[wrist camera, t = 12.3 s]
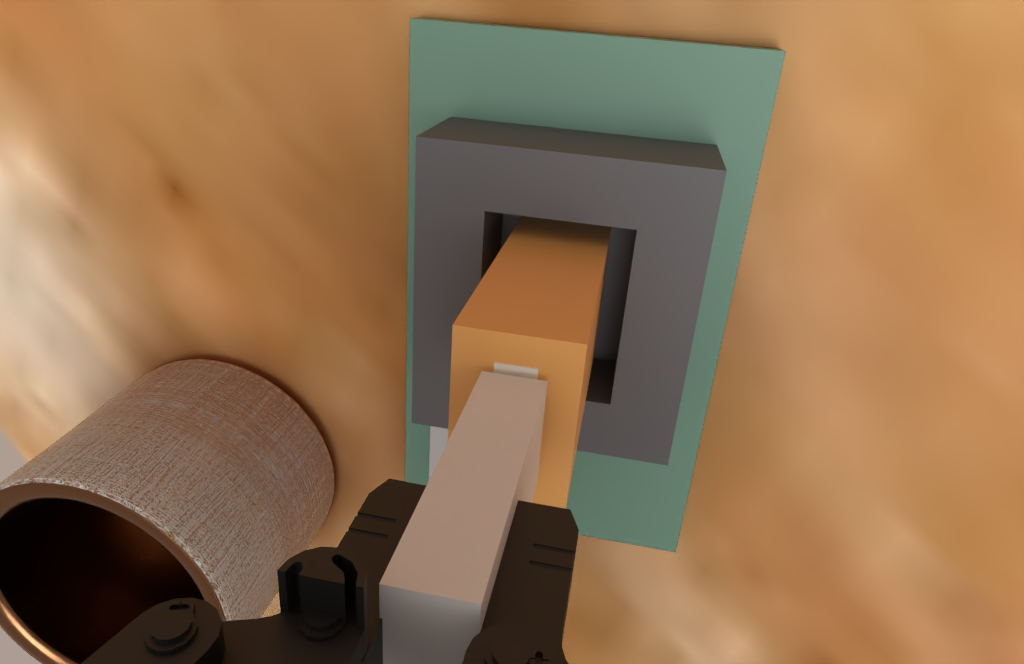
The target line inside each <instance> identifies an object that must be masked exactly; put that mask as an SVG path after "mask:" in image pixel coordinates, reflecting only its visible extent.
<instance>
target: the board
mask: <svg viewBox="0 0 1024 664" xmlns="http://www.w3.org/2000/svg"><path fill="white" fill-rule="evenodd" d="M785 52H786V51H784V50H781V49H775V48H764V47H752V46H741V45H729V44H718V43H706V42H695V41H683V40H672V39H661V38H649V37H638V36H626V35H615V34H603V33H592V32H580V31H569V30H557V29H546V28H535V27H523V26H512V25H500V24H489V23H477V22H466V21H454V20H443V19H431V18H410V69H409V165H408V261H407V357H406V453H405V482H410V483H416V484H421V485H427V484H428V482H429V479H430V477H431V475H432V473H433V471H434V469H435V467H436V465H437V463H438V461H439V459H440V457H441V455H442V453H443V450H444V448H445V446H446V444H447V442H448V423H449V399H450V375H451V351H452V327H453V324H454V322H455V320H456V319H457V317H458V316H459V314H460V313H461V311H462V309H463V308H464V306H465V305H466V303H467V302H468V300H469V298H470V297H471V295H472V294H473V292H474V291H475V289H476V288H477V286H478V284H479V283H480V281H481V280H482V278H483V277H484V275H485V273H486V272H487V270H488V269H489V267H490V266H491V264H492V262H493V261H494V259H495V258H496V256H497V255H498V253H499V251H500V250H501V248H502V247H503V245H504V244H505V242H506V240H507V239H508V237H509V236H510V234H511V233H512V231H513V230H514V228H515V226H516V225H517V223H518V222H519V220H520V219H521V217H522V216H528V217H536V218H544V219H552V220H560V221H568V222H576V223H584V224H593V225H601V226H609V227H612V232H611V239H610V247H609V254H608V261H607V269H606V276H605V283H604V291H603V298H602V305H601V312H600V320H599V327H598V334H597V341H596V346H595V352H594V357H593V363H592V368H591V374H590V379H589V385H588V390H587V396H586V401H585V407H584V412H583V418H582V423H581V429H580V434H579V440H578V445H577V451H576V456H575V462H574V467H573V473H572V478H571V484H570V489H569V495H568V500H567V506H566V509H570V510H571V512H572V514H573V517H574V519H575V522H576V524H577V527H578V529H579V532H578V535H584V536H589V537H595V538H600V539H605V540H611V541H616V542H622V543H627V544H633V545H638V546H644V547H649V548H655V549H660V550H666V551H671V552H676V548H677V543H678V538H679V534H680V529H681V525H682V520H683V516H684V511H685V507H686V502H687V498H688V493H689V488H690V484H691V479H692V475H693V470H694V466H695V461H696V457H697V452H698V448H699V443H700V438H701V434H702V429H703V425H704V420H705V416H706V411H707V407H708V402H709V398H710V393H711V388H712V384H713V379H714V375H715V370H716V366H717V361H718V357H719V352H720V347H721V343H722V338H723V334H724V329H725V325H726V320H727V316H728V311H729V307H730V302H731V297H732V293H733V288H734V284H735V279H736V275H737V270H738V266H739V261H740V257H741V252H742V247H743V243H744V238H745V234H746V229H747V225H748V220H749V216H750V211H751V207H752V202H753V197H754V193H755V188H756V184H757V179H758V175H759V170H760V166H761V161H762V157H763V152H764V147H765V143H766V138H767V134H768V129H769V125H770V120H771V116H772V111H773V106H774V102H775V97H776V93H777V88H778V84H779V79H780V75H781V70H782V66H783V61H784V56H785Z"/></svg>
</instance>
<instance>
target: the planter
mask: <svg viewBox="0 0 1024 664" xmlns="http://www.w3.org/2000/svg"><path fill="white" fill-rule="evenodd" d="M334 488H335V478H334V468H333V464H332V459H331V456H330V453H329V450H328V448H327V445H326V443H325V441H324V439H323V437H322V435H321V433H320V432H319V430H318V428H317V427H316V425H315V424H314V422H313V421H312V420H311V418H310V417H309V416H308V414H307V413H306V412H305V411H304V410H303V408H302V407H301V406H300V405H299V404H298V403H297V402H296V401H295V400H294V399H293V398H291V397H290V396H289V395H288V394H287V393H286V392H284V391H283V390H282V389H280V388H279V387H278V386H276V385H275V384H273V383H272V382H270V381H269V380H267V379H265V378H264V377H262V376H260V375H258V374H256V373H254V372H252V371H250V370H247V369H245V368H242V367H240V366H237V365H234V364H230V363H226V362H222V361H217V360H210V359H187V360H180V361H175V362H171V363H168V364H165V365H163V366H161V367H159V368H157V369H155V370H153V371H150V372H148V373H147V374H145V375H143V376H142V377H140V378H139V379H138V380H136V381H135V382H134V383H132V384H131V385H130V386H128V387H127V388H126V389H124V390H123V391H122V392H120V393H119V394H118V395H117V396H115V397H114V398H113V399H111V400H110V401H109V402H107V403H106V404H105V405H103V406H102V407H101V408H99V409H98V410H97V411H96V412H94V413H93V414H92V415H90V416H89V417H88V418H86V419H85V420H84V421H83V422H81V423H80V424H79V425H77V426H76V427H75V428H73V429H72V430H71V431H69V432H68V433H67V434H65V435H64V436H63V437H62V438H60V439H59V440H58V441H56V442H55V443H54V444H52V445H51V446H50V447H48V448H47V449H46V450H44V451H43V452H42V453H40V454H39V455H38V456H36V457H35V458H34V459H32V460H31V461H29V462H28V463H27V464H25V465H24V466H23V467H21V468H20V469H19V470H17V471H16V472H15V473H13V474H12V475H11V476H9V477H8V478H6V479H5V480H4V481H3V482H1V483H0V627H1V628H2V629H3V630H4V631H5V632H6V633H7V634H8V635H9V636H10V637H11V638H12V639H13V640H14V641H15V642H16V643H17V644H18V645H19V646H20V647H21V648H22V649H24V650H25V651H26V652H27V653H28V654H30V655H31V656H32V657H33V658H35V659H36V660H38V661H39V662H40V663H42V664H81V663H82V662H84V661H85V660H86V659H87V658H88V657H90V656H91V655H92V654H93V653H94V652H96V651H97V650H98V649H99V648H100V647H102V646H103V645H104V644H105V643H106V642H108V641H109V640H110V639H111V638H112V637H114V636H115V635H116V634H117V633H118V632H120V631H121V630H122V629H123V628H125V627H126V626H127V625H128V624H129V623H131V622H132V621H133V620H134V619H135V618H137V617H138V616H139V615H141V614H142V613H144V612H145V611H147V610H149V609H150V608H152V607H153V606H155V605H157V604H160V603H163V602H166V601H169V600H172V599H178V598H196V599H200V600H204V601H208V602H209V603H210V604H211V605H213V606H214V607H215V608H216V609H217V610H218V612H219V615H220V618H221V621H232V620H245V619H258V618H260V617H261V616H262V614H263V613H264V611H265V610H266V608H267V607H268V606H269V604H270V603H271V601H272V600H273V598H274V597H275V595H276V594H277V592H278V591H279V586H278V575H277V570H278V569H279V568H280V567H281V566H282V565H283V564H284V563H285V562H286V561H287V560H288V559H289V558H291V557H293V556H295V555H297V554H299V553H301V552H302V551H305V550H306V549H307V548H308V546H309V545H310V543H311V542H312V540H313V539H314V537H315V536H316V534H317V533H318V531H319V530H320V528H321V526H322V525H323V523H324V521H325V519H326V517H327V514H328V512H329V509H330V507H331V504H332V500H333V496H334Z"/></svg>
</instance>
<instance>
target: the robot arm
mask: <svg viewBox="0 0 1024 664" xmlns="http://www.w3.org/2000/svg"><path fill="white" fill-rule="evenodd" d="M547 385H548V381H544V380H537V379H531V378H524V377H518V376H511V375H505V374H498V373H492V372H486V371H482V372H481V374H480V376H479V378H478V380H477V382H476V384H475V386H474V388H473V390H472V392H471V394H470V397H469V399H468V401H467V403H466V405H465V407H464V409H463V411H462V413H461V415H460V417H459V419H458V421H457V424H456V426H455V428H454V430H453V432H452V434H451V436H450V438H449V440H448V442H447V444H446V446H445V448H444V450H443V453H442V455H441V457H440V459H439V461H438V463H437V465H436V467H435V469H434V471H433V473H432V475H431V477H430V479H429V482H428V484H427V485H421V484H416V483H410V482H404V481H399V480H393V479H388V480H387V481H386V482H384V483H383V484H381V485H380V486H379V487H377V488H376V489H375V490H373V491H372V492H371V493H369V495H368V496H367V498H366V500H365V502H364V503H363V505H362V507H361V508H360V510H359V512H358V516H356V517H355V518H354V520H353V522H352V524H351V525H350V527H349V531H348V532H346V534H345V535H344V537H343V539H342V541H341V542H340V544H339V546H338V547H337V548H333V547H319V548H314V549H310V550H305V551H302V552H301V553H299V554H297V555H295V556H293V557H291V558H289V559H288V560H287V561H286V562H285V563H284V564H283V565H282V566H281V567H280V568H279V569H278V570H277V575H278V586H279V597H280V607H281V613H279V614H276V615H273V616H270V617H264V618H258V619H245V620H232V621H221V618H220V615H219V612H218V610H217V609H216V608H215V607H214V606H213V605H211V604H210V603H209V602H208V601H204V600H200V599H196V598H178V599H172V600H169V601H166V602H163V603H160V604H157V605H155V606H153V607H152V608H150V609H149V610H147V611H145V612H144V613H142V614H141V615H139V616H138V617H137V618H135V619H134V620H133V621H132V622H131V623H129V624H128V625H127V626H126V627H125V628H123V629H122V630H121V631H120V632H118V633H117V634H116V635H115V636H114V637H112V638H111V639H110V640H109V641H108V642H106V643H105V644H104V645H103V646H102V647H100V648H99V649H98V650H97V651H96V652H94V653H93V654H92V655H91V656H90V657H88V658H87V659H86V660H85V661H84V662H82V663H81V664H568V662H567V661H566V659H565V656H564V653H563V649H562V639H563V633H564V627H565V620H566V614H567V607H568V601H569V595H570V588H571V581H572V574H573V567H574V560H575V553H576V546H577V539H578V532H579V529H578V527H577V524H576V522H575V519H574V517H573V514H572V512H571V510H570V509H565V508H559V507H554V506H548V505H542V504H537V503H532V499H533V496H534V492H535V488H536V484H537V479H538V469H539V460H540V451H541V441H542V432H543V422H544V413H545V403H546V394H547Z"/></svg>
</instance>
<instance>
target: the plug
mask: <svg viewBox="0 0 1024 664" xmlns="http://www.w3.org/2000/svg"><path fill="white" fill-rule="evenodd" d="M611 232H612V227H609V226H601V225H593V224H584V223H576V222H568V221H560V220H552V219H544V218H536V217H528V216H522V217H521V219H520V220H519V222H518V223H517V225H516V226H515V228H514V230H513V231H512V233H511V234H510V236H509V237H508V239H507V240H506V242H505V244H504V245H503V247H502V248H501V250H500V251H499V253H498V255H497V256H496V258H495V259H494V261H493V262H492V264H491V266H490V267H489V269H488V270H487V272H486V273H485V275H484V277H483V278H482V280H481V281H480V283H479V284H478V286H477V288H476V289H475V291H474V292H473V294H472V295H471V297H470V298H469V300H468V302H467V303H466V305H465V306H464V308H463V309H462V311H461V313H460V314H459V316H458V317H457V319H456V320H455V322H454V324H453V327H452V351H451V375H450V399H449V423H448V440H449V438H450V436H451V434H452V432H453V430H454V428H455V426H456V424H457V421H458V419H459V417H460V415H461V413H462V411H463V409H464V407H465V405H466V403H467V401H468V399H469V397H470V394H471V392H472V390H473V388H474V386H475V384H476V382H477V380H478V378H479V376H480V374H481V372H482V371H486V372H492V373H498V374H505V375H511V376H518V377H524V378H531V379H537V380H544V381H548V385H547V394H546V403H545V413H544V422H543V432H542V441H541V451H540V460H539V469H538V479H537V484H536V488H535V492H534V496H533V499H532V503H537V504H542V505H548V506H554V507H559V508H565V509H566V506H567V500H568V495H569V489H570V484H571V478H572V473H573V467H574V462H575V456H576V451H577V445H578V440H579V434H580V429H581V423H582V418H583V412H584V407H585V401H586V396H587V390H588V385H589V379H590V374H591V368H592V363H593V357H594V352H595V346H596V341H597V334H598V327H599V320H600V312H601V305H602V298H603V291H604V283H605V276H606V269H607V261H608V254H609V247H610V239H611Z"/></svg>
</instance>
